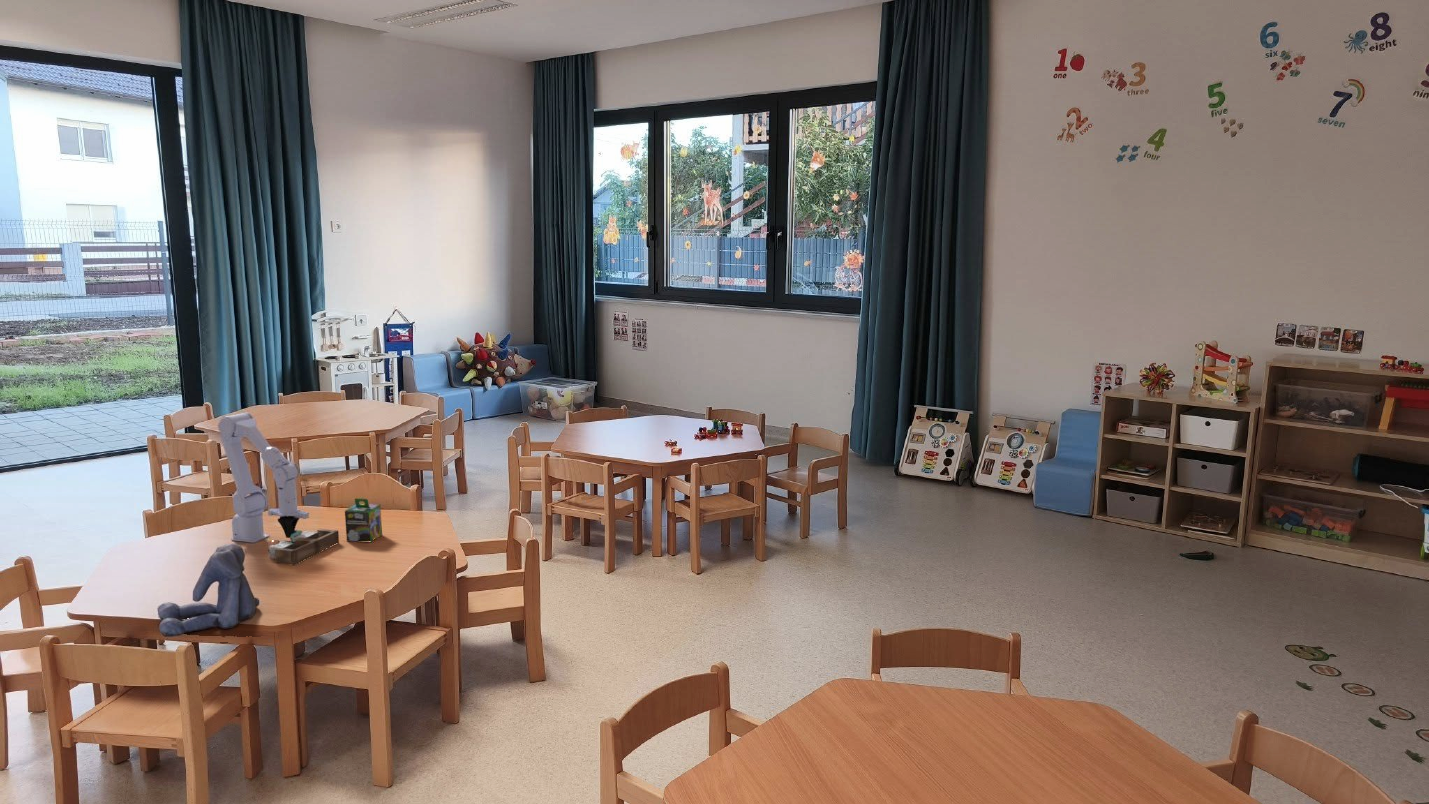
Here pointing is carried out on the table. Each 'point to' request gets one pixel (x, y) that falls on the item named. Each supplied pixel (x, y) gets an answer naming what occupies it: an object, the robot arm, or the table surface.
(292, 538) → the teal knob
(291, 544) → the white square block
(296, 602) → the table surface
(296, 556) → the grey brown divided tray
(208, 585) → the elephant
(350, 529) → the chalk box
